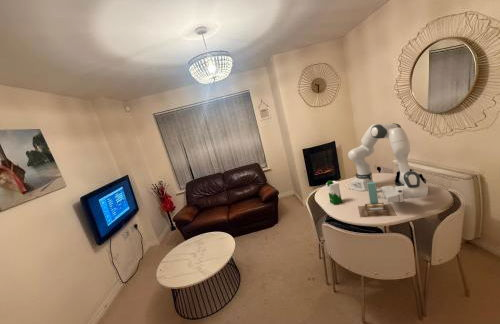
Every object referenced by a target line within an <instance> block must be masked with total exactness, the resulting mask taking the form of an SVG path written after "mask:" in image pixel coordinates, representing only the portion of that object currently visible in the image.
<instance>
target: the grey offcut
mask: <svg viewBox="0 0 500 324" xmlns="http://www.w3.org/2000/svg"><path fill="white" fill-rule="evenodd" d="M380 210H383V207H381V208H370V211H380Z"/></svg>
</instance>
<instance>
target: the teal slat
mask: <svg viewBox="0 0 500 324" xmlns="http://www.w3.org/2000/svg"><path fill="white" fill-rule="evenodd" d="M367 185H368V190H367V191H368V198H369V204H379V203H380V202H379V199H378V193H377V190H378V189H377V184H376V182H375V181H373V182H370V183H367Z"/></svg>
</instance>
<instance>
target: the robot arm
mask: <svg viewBox="0 0 500 324" xmlns="http://www.w3.org/2000/svg"><path fill="white" fill-rule="evenodd" d="M381 139H388V141H389V145H390V148H391V150H392V153H393V154H394V158H395V159H396V164H397V167H398V171H400V176H399V182H400V184H401V185H402V186H396V185H395V186H393V185H385V186H381V188H380V189H376V190H377V197H378V200H379V199H382V200H386V202H388V203H397V202H399V203H403V202H404V201H405V200H407V199H410V198H411V199H418V198H423V197H424V198H425V197H427V196H428V195H429V191H430V190H429V189H430V188H429V187H428V184H427V183H426V184H425V183H424V182H423V181H422V180H421V178H420V177H419V175H418V174H419V173H417V172H416V171H414V170H413V171H410V169H411V168H410V165H409V162H408V158H409V155H410V151H411V144H410V140H409V138H408V135H407V132H406V131H405V129H403V128H402V126H401V125H400V124H398V123H394V122H392V123H389V122H388V123H372V125H370V126H369V128H368V129H367V130H366V131H365V132H364V134H363V136H362V137H361V139H360V143H361V145H359V146H358V147H355V148H352V149H351V150H349V151H348V153H347V156H348V159H349V160H351V161H352V162H353V163H354V164H355V168H356V174H354V176H355V177H354V178H353V179H352V180H351V181H350V184H349V186H348V190H354V191H359V192H365V191H368V185H367V183H370V182H374V181H373V173H372V170H371V169H372V168H371V164H370V162H367V161H366V158H367V157H369V156H371V155H372V154H373V153H375V149H374V146H375V145H376V143H377V142H378V140H381ZM379 193H381V194H383V195H381V194H379ZM378 194H379V195H378Z"/></svg>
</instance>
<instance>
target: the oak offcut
mask: <svg viewBox="0 0 500 324" xmlns="http://www.w3.org/2000/svg"><path fill="white" fill-rule="evenodd" d="M369 204H370V203H369ZM381 207H383V208H384V205H383V204H370V205H367V208H368V209H370V208H381Z"/></svg>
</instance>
